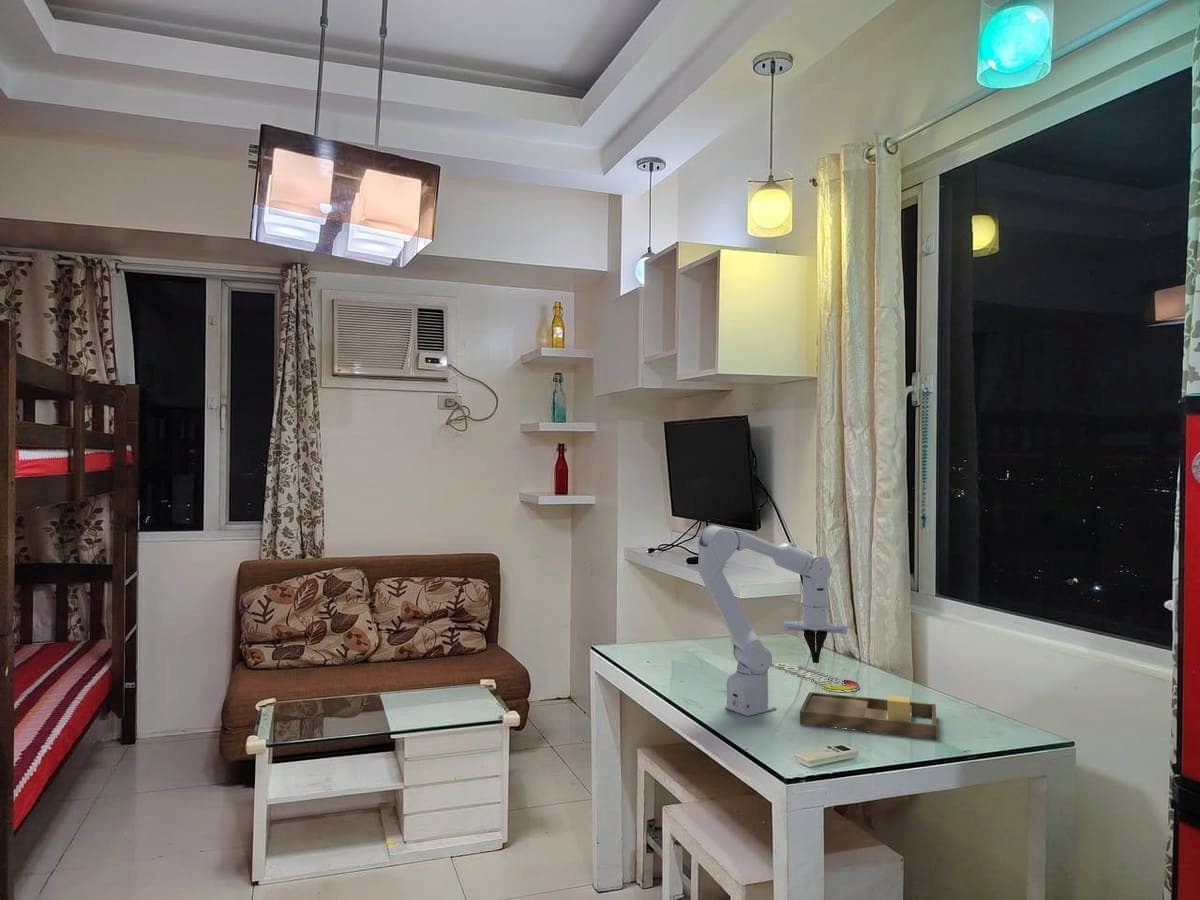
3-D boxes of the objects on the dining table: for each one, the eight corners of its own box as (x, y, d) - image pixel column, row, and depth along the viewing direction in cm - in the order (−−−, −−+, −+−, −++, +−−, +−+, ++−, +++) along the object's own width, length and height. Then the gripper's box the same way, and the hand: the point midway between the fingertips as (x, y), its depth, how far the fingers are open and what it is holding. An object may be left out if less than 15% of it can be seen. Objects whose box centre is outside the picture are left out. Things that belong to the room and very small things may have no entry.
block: (887, 719, 177) (887, 700, 177) (888, 712, 182) (888, 694, 182) (909, 721, 176) (909, 702, 176) (910, 715, 180) (909, 696, 180)
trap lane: (799, 724, 182) (799, 711, 182) (809, 704, 196) (809, 691, 196) (936, 739, 171) (936, 725, 171) (935, 717, 186) (935, 704, 186)
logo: (867, 686, 208) (836, 691, 204) (867, 690, 208) (836, 695, 204) (794, 660, 235) (766, 664, 231) (794, 664, 235) (766, 668, 231)
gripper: (782, 606, 195) (783, 664, 195) (846, 610, 191) (846, 668, 190) (785, 601, 202) (786, 656, 202) (847, 604, 197) (847, 661, 197)
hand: (815, 662), depth 197 cm, fingers closed
